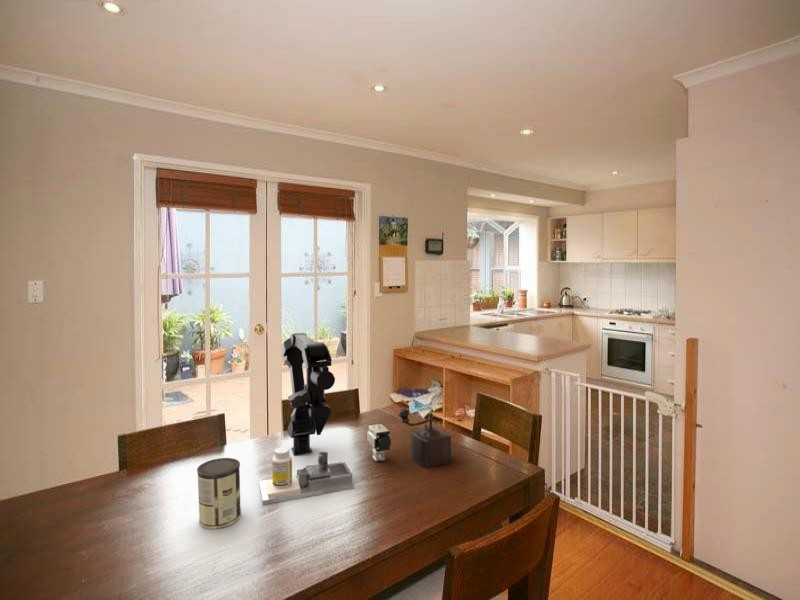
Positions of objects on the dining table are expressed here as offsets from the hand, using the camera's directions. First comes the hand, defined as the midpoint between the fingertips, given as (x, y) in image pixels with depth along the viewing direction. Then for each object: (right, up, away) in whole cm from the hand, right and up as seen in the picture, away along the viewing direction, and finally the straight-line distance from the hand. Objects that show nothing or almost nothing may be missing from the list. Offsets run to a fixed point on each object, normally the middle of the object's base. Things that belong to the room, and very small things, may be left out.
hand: (315, 430), depth 147 cm
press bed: (-7, -13, -14) cm, 20 cm away
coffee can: (-20, -15, -28) cm, 38 cm away
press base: (-1, -14, -11) cm, 18 cm away
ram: (+1, -12, -10) cm, 16 cm away
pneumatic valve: (+20, -13, +9) cm, 25 cm away
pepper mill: (+35, -13, +7) cm, 38 cm away
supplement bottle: (-7, -12, -14) cm, 20 cm away
